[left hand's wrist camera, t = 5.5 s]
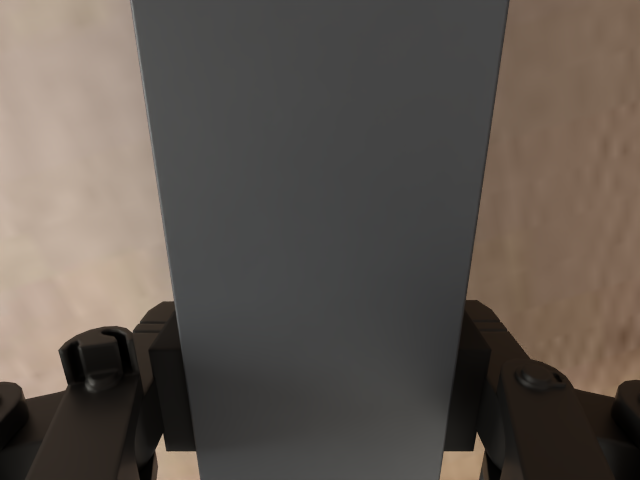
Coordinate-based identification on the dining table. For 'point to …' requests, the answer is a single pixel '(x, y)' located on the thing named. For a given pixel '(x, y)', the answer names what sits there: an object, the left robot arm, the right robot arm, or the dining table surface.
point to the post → (319, 221)
